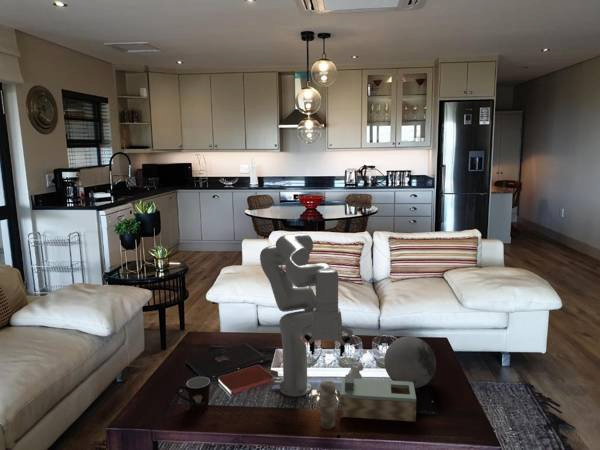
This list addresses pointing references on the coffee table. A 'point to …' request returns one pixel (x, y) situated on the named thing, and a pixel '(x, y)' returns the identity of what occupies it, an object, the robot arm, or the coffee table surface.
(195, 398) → the coffee mug
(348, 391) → the lid
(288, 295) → the robot arm
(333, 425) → the beige tall cylinder
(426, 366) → the moon model
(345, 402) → the wooden box
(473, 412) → the coffee table surface
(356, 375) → the duck figurine
